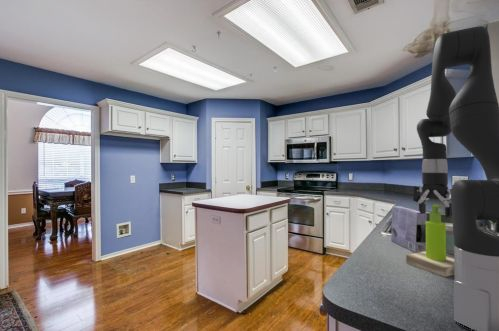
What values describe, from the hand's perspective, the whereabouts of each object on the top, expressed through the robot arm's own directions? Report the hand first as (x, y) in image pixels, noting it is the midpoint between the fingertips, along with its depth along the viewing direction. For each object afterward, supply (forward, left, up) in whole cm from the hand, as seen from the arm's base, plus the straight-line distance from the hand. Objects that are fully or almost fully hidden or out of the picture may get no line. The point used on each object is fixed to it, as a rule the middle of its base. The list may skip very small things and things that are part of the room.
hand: (435, 215), depth 88 cm
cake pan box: (+13, +19, -19) cm, 30 cm away
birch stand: (0, 0, -19) cm, 19 cm away
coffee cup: (+23, +7, -19) cm, 31 cm away
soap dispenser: (0, 0, -16) cm, 16 cm away
